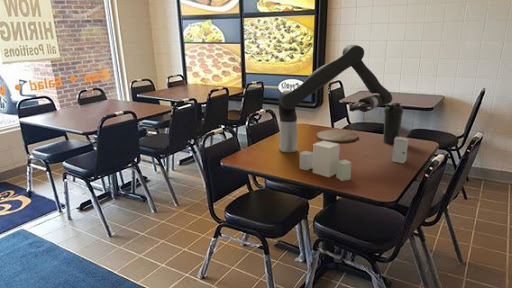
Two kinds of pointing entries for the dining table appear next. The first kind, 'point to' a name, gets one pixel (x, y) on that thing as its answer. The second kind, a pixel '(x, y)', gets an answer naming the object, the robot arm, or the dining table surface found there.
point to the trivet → (337, 136)
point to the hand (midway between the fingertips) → (351, 109)
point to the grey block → (306, 160)
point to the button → (339, 150)
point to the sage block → (343, 170)
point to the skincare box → (400, 149)
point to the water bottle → (392, 122)
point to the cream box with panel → (325, 158)
